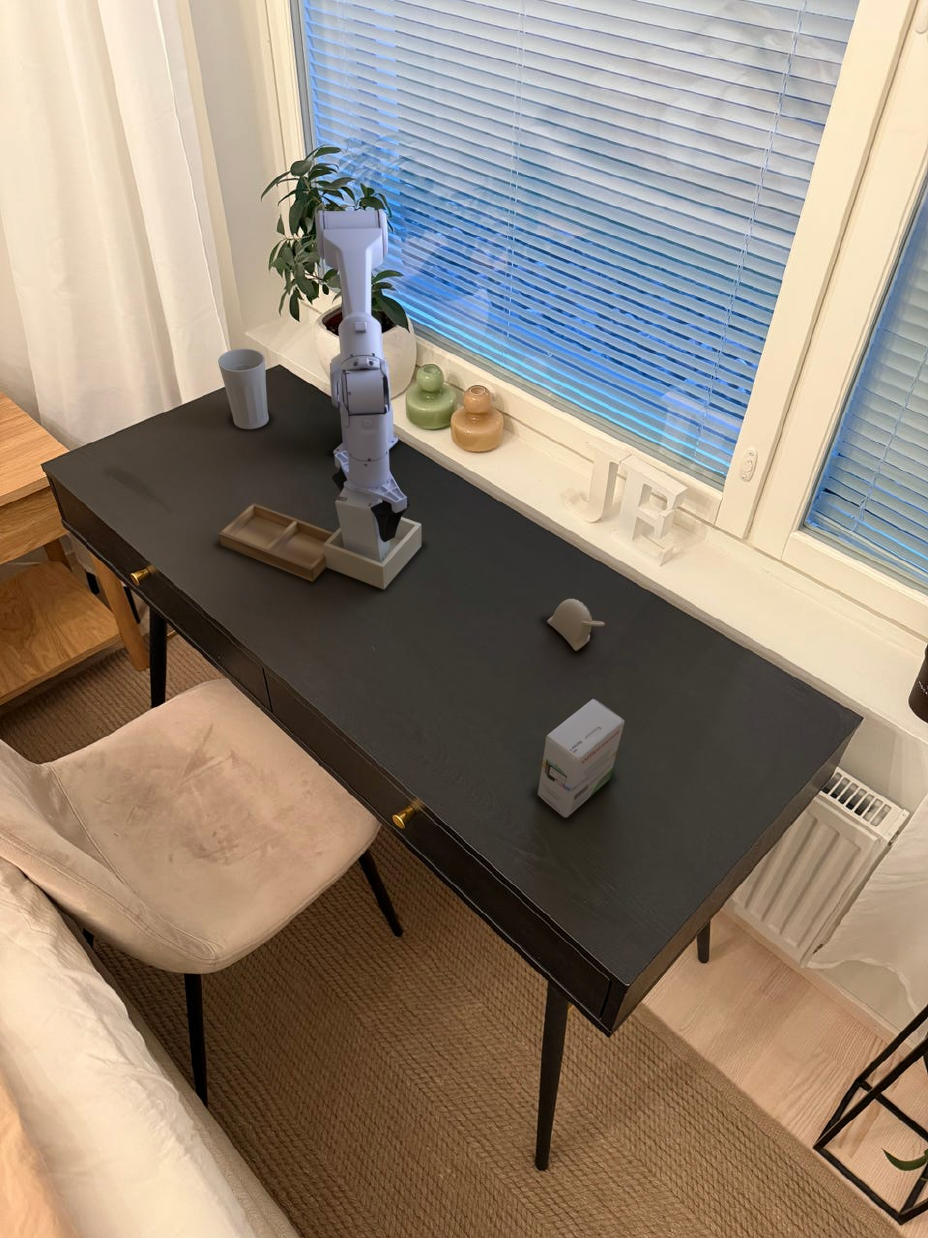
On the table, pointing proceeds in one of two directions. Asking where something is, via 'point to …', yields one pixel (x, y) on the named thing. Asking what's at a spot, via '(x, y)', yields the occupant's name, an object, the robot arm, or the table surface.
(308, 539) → the tray
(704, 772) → the table surface
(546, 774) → the ink box
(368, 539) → the cosmetic box
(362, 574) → the basin
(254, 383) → the cup
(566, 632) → the decorative ornament
